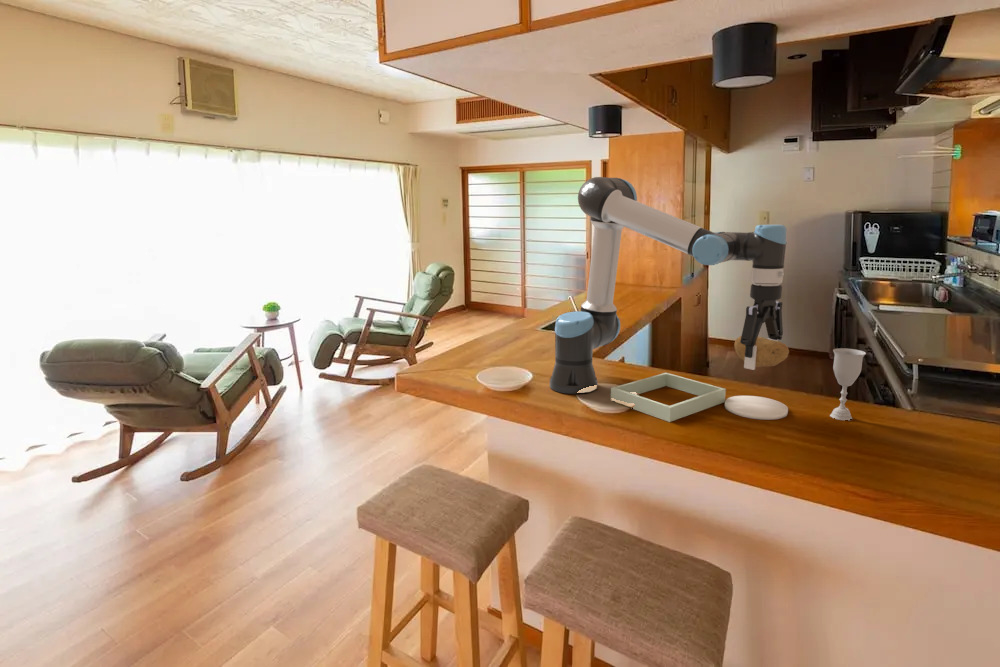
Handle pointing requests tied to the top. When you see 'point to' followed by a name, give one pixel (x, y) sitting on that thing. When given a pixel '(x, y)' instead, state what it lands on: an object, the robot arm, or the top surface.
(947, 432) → the top surface
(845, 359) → the chalice
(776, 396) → the top surface
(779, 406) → the plate
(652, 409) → the crate
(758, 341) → the potato
